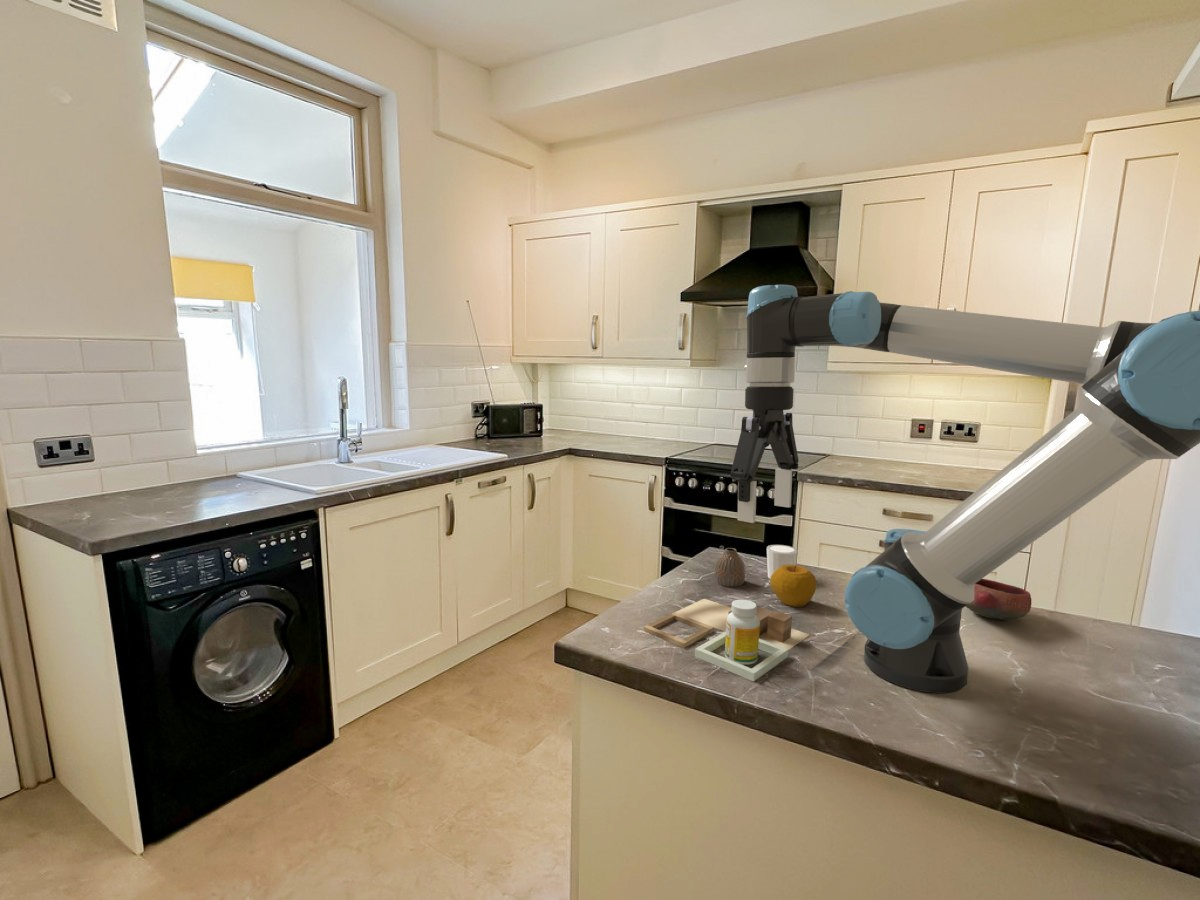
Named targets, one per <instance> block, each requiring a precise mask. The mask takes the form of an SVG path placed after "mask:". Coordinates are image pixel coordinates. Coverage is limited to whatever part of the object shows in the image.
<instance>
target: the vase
mask: <svg viewBox="0 0 1200 900" xmlns="http://www.w3.org/2000/svg"><path fill="white" fill-rule="evenodd" d="M746 569H747V568H746V564H745V562H744V561H743V559H742V558H741V556H740V554H739V553H738V551H737V549H736V548H733V547H727V548H725V549H724V552H723V553H722V554H721V555H720V556H719V557H718V558H717V560H716V562H715V564H714V568H713V574H714V579H715V582H716V584H718V585H720V586H723V587H727V588H737V587H741V586H742V585H744V582H745V579H746V574H747V571H746Z"/></svg>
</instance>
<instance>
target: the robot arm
mask: <svg viewBox="0 0 1200 900" xmlns="http://www.w3.org/2000/svg"><path fill="white" fill-rule="evenodd" d="M747 301H748V302H747V311H746V312H747V314H746V315H745V317H746V318H745V319H746V321H747V322H746V323H747V325H746V328H747V329H746V364H745V365H744V370H745V382H746V383H747V384H749V386H746V388H745V392H744V394H745V395H744V407H745V408H746V409H747V410H751V411H752V416H743V417H742V419H741V429H740V434H739V439H738V442H737V446H736V449H735V450H736V451H735V453H734V459H733V462H732V466H731V470H730V477H731V480H733V481H737V483H738V484H737V521H739V522H745V523H750V524H754V523H756V514H757V513H756V511H757V480H755V476H756V474H757V472H758V468H759V466H760V463H761V460H762V458H763V455H764V452H765V450H766V448H768V447H769V446H770V447H771V450H772V453H773V456H774V460H775V462H776V465H777V466H778V467H777V468H775V469H774V470H775V473H774V475H775V476H774V499H773V502H774V504H773V505H774V506H776V507H783V508H791V507H792V489H793V488H792V485H793V470H795V471H796V470H798V469H799V456H798V451H797V444H796V438H795V432H794V427H793V413H792V412H784V411H789V410H791V409H793V407H794V391H795V390H794V388H793V386H791V384H793V383H794V382H795V374H796V373H795V367H796V365H795V363H796V357H795V356H796V354H795V352H796V347H799V348H801V347H802V348H803V347H827V346H828V347H845V348H846V347H847V348H857V349H863V350H871V351H877V352H882V353H883V352H884V353H890V354H891V353H892V354H897V355H902V356H903V355H904V356H909V357H916V358H922V359H927V360H934V361H939V362H940V361H941V362H945V363H953V364H957V365H963V366H970V367H976V368H982V369H988V370H995V371H1001V372H1006V373H1012V374H1019V375H1025V376H1030V377H1035V378H1042V379H1049V380H1054V381H1061V382H1067V383H1072V384H1077V385H1078V384H1079V385H1081V386H1080V387H1079V389H1078V391H1079V392H1078V405H1077V407H1076V409H1075V410H1073V411H1072V412H1071V413H1069V414H1068V415H1067V416H1066V417H1065V418H1063V419H1062V420H1061V421H1060V422H1059V423H1057V424H1056V425H1055V426H1054V427H1053V428H1051V429H1050V430H1049V431H1048V432H1046V433H1045V434H1044V435H1043V436H1042V437H1040V438H1039V439H1038V440H1037V441H1035V442H1034V443H1033V444H1032V445H1030V446H1029V447H1028V448H1026V450H1024V451H1023V452H1022V453H1021V454H1019V455H1018V456H1017V457H1016V458H1014V459H1013V460H1012V461H1010V462H1009V463H1008V464H1007V465H1006V466H1004V467H1003V468H1002V469H1001V470H999V472H998V473H996V474H995V475H994V476H992V477H991V478H990V479H989V480H987V481H986V482H985V483H983V484H982V485H981V486H980V487H979V488H978V489H976V490H975V491H974V492H973V493H972V494H971V495H969V496H968V497H967V498H965V499H964V500H963V501H962V502H960V503H959V504H958V505H957V506H956V507H955V508H953V509H952V510H951V511H949V512H948V513H947V514H946V515H944V517H943V518H941V519H940V520H938V521H937V522H936V523H935V524H933V525H932V526H931V527H930V528H929V529H928V530H927V531H926V530H925V531H924V530H919V529H917V530H916V529H908V528H892V529H889V530H888V531H887V532H886V534H885V539H884V540H883V545H884V547H883V548H884V550H883V552H881V553H880V554H879V555H878V556H876V557H875V558H874V559H873V560H872V561H871V562H869V563H868V564H867V565H865V566H864V567H861V568H859V569H858V570H856V571H855V572H854V573H853V574H852V576H851V577H850V579H849V581H848V583H846V584H847V585H846V587H845V590H844V602H845V603H844V605H845V610H846V612H847V615H848V617H849V619H850V621H851V622H852V624H853V625H854V627H855V628H856V629H857V630H858V632H860V633H861V634H862V635H863V636H864V637H866V638H867V640H866V642H865V643H864V644H865V645H864V652H863V661H864V663H865V665H866V666H867V667H868V669H869V670H870V671H872V672H873V673H874V674H875V675H876V676H878V677H880V678H882V679H884V680H886V681H888V682H890V683H892V684H895V685H897V686H900V687H904V688H907V689H911V690H915V691H920V692H925V693H931V694H932V693H934V694H944V693H945V694H946V693H953V692H958V691H960V690H962V689H964V688H965V687H966V686H967V684H968V679H969V664H968V660H967V657H966V653H965V649H964V644H963V641H962V639H961V638H962V637H961V634H960V631H961V630H960V629H961V622H962V621H961V620H962V610H963V609H964V608H966V606H967V605H968V604H970V603H971V602H972V601H973V600H974V584H975V583H977V582H978V581H979V580H981V579H985V577H986V576H987V575H989V574H990V573H993V571H995V570H996V569H997V568H999V567H1000V566H1002V565H1003V564H1004V563H1006V562H1007V561H1009V560H1010V559H1012V558H1013V557H1014V556H1016V555H1017V554H1019V553H1020V552H1021V551H1023V550H1024V549H1026V548H1027V547H1028V546H1030V545H1031V544H1032V543H1034V542H1035V541H1037V540H1038V539H1039V538H1041V537H1042V536H1043V535H1045V534H1047V533H1048V532H1049V531H1051V530H1052V529H1053V528H1054V527H1056V526H1058V525H1059V524H1061V523H1062V522H1064V521H1065V520H1066V519H1068V518H1069V517H1071V516H1072V515H1074V513H1076V512H1077V511H1079V510H1080V509H1081V508H1083V507H1085V506H1086V505H1087V504H1088V503H1090V502H1092V500H1094V499H1095V498H1097V497H1098V496H1099V495H1102V494H1103V492H1105V491H1107V490H1108V489H1109V488H1111V487H1112V486H1114V485H1115V484H1116V483H1118V482H1119V481H1120V480H1122V479H1123V478H1125V477H1126V476H1128V475H1129V474H1130V473H1132V472H1133V471H1135V470H1136V469H1137V468H1139V467H1140V466H1141V465H1143V464H1144V463H1146V462H1147V461H1150V460H1151V461H1152V460H1178V459H1179V458H1180V457H1182V456H1184V454H1186V453H1187V452H1189V451H1191V449H1194V448H1195V447H1196V446H1197V445H1200V310H1192V311H1187V312H1183V313H1181V312H1180V313H1177V314H1174V315H1171V316H1169V317H1166V318H1163V319H1161V320H1160V321H1158V322H1134V321H1127V320H1126V321H1124V320H1117V321H1115V322H1114V323H1111V324H1109V325H1107V326H1103V327H1102V326H1096V325H1095V326H1094V325H1086V324H1077V323H1068V322H1060V321H1059V322H1058V321H1052V320H1041V319H1033V318H1023V317H1012V316H1004V315H1003V316H1002V315H995V314H988V313H987V314H986V313H977V312H968V311H961V310H960V311H959V310H958V311H957V310H952V309H951V310H950V309H942V308H931V307H924V306H923V307H921V306H916V305H915V306H913V305H906V304H905V305H903V304H902V305H901V304H896V303H888V302H880V301H879V299H878V297H877V295H876V293H874V292H871V291H853V290H852V291H851V290H850V291H844V292H840V293H831V294H830V293H829V294H821V295H814V296H813V295H812V296H798V290H797V287H795V286H794V285H791V284H790V285H789V284H774V285H773V284H771V285H770V284H768V285H760V286H757V287H755V288H752V289H751V290H750V292H749V295H748V300H747Z"/></svg>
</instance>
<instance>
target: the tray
mask: <svg viewBox="0 0 1200 900" xmlns="http://www.w3.org/2000/svg"><path fill="white" fill-rule="evenodd" d="M725 640H726V631H725V632H724V631H723V632H722V633H720V634H718V635H717V636H715V637H713V638H711V639H709V640H708V641H706V642H705V643H702V644H701V645H700V646H697V647H696V648H694V657H695V658H697V659H700V660H702V661H704V662H706V663H709V664H712V665H713V666H716V667H719V668H720V669H723V670H726V671H728V672H730V673H732V674H734V675H738V676H740V677H742V678H744V679H745V680H749V681H751V682H755V681H756V680H759V678H761V677H762V676H764V675H765V674H766V673H768V672H769V671H771V670H772V669H773V668H775V667H776V666H777V665H779V664H780V663H781V662H783V661H784V660H786V659H787V658H788V657H789V650H788V649H786V648H783V647H780V646H777V645H775V644H772V643H769V642H767V641H764V640H761V639H759V646H758V650H760V651H763V652H764V653H768V654H770V655H769V656H768V657H767V658H764V660H762V661H761V662H759V663H758V664H756V665H755V666H753V667H752V668H750V667H748V666H746V665H742V664H739V663H736V662H734V661H732V660H729V659H727V658H726V657H724V656H722V655H719V654H717V653H714V652H713V651H714V650H717V649H718V648H719V647H721V646H723V645H725Z"/></svg>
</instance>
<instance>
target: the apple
mask: <svg viewBox="0 0 1200 900" xmlns="http://www.w3.org/2000/svg"><path fill="white" fill-rule="evenodd" d="M769 584H770V588H771V589H772V591H773V593H774V595H775V596H776V597H777V599H779V602H781V603H783V604H784V605H786V606H789V607H796V608H799V607H804V606H806V605H807V604H808V603H809V602H810V601H811V600H812V599H813V596H814V595H815V593H816V590H817V579H816V576H815V575H814V574H813V573H812V571H810V569H807V568H806V567H803V566H801V565H796V564H795V565H783V566H781V567H779V568H778V569H777V570H776V571H775V572H774V573H773V574H772V575H771V578H769Z"/></svg>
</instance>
